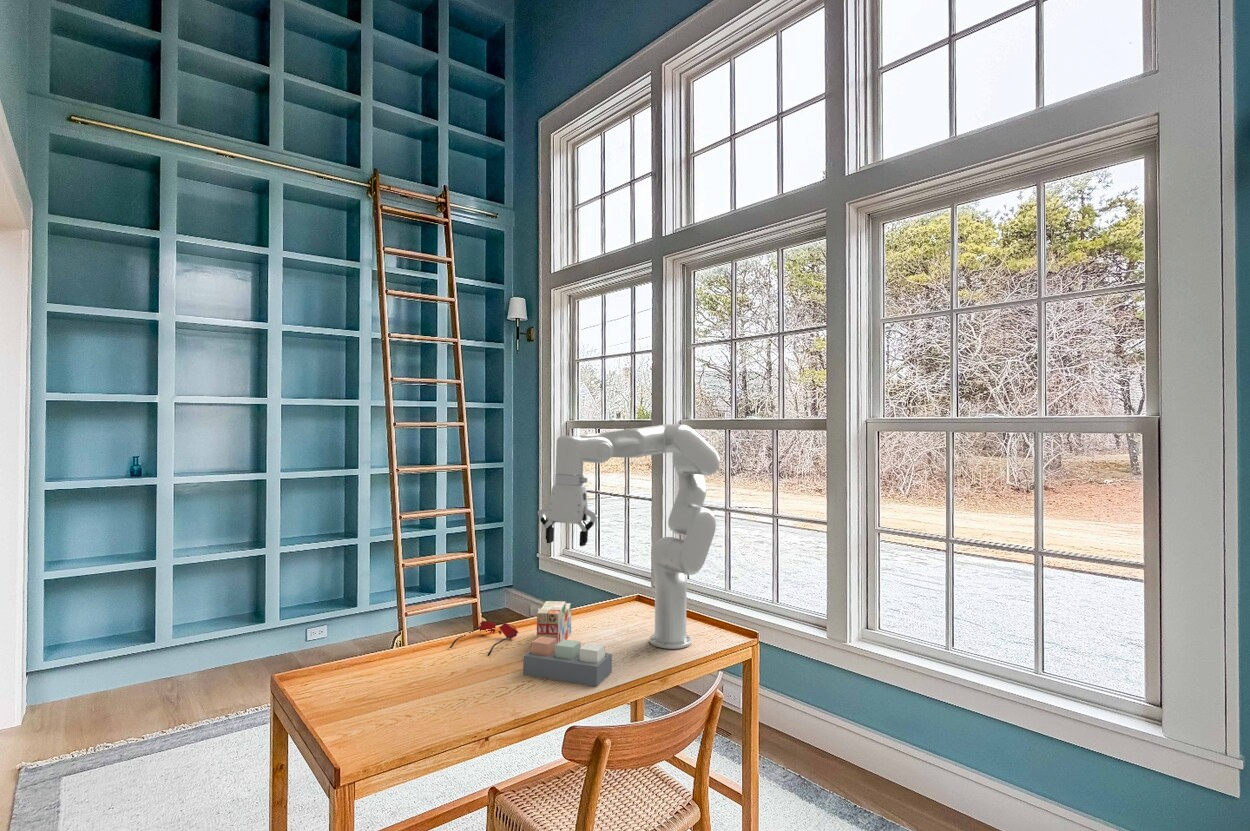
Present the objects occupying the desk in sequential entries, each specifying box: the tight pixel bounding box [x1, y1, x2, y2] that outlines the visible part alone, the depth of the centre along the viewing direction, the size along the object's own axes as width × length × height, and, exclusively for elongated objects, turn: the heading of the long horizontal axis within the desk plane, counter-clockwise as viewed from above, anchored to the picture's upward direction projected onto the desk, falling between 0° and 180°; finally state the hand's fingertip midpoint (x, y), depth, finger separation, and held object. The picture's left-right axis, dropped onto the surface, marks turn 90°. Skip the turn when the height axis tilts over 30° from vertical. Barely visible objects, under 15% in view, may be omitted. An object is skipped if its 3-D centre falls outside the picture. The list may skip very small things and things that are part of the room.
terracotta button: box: [531, 636, 557, 656], centre depth 178 cm, size 5×5×5 cm
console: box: [522, 649, 613, 688], centre depth 175 cm, size 10×21×5 cm, turn 69°
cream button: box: [580, 642, 606, 663], centre depth 173 cm, size 5×5×5 cm
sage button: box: [555, 639, 582, 660], centre depth 175 cm, size 5×5×5 cm
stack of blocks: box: [536, 600, 572, 644], centre depth 199 cm, size 21×6×12 cm, turn 174°
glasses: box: [449, 620, 519, 657], centre depth 198 cm, size 14×16×5 cm
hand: (566, 544), depth 180 cm, fingers open, 9 cm apart
